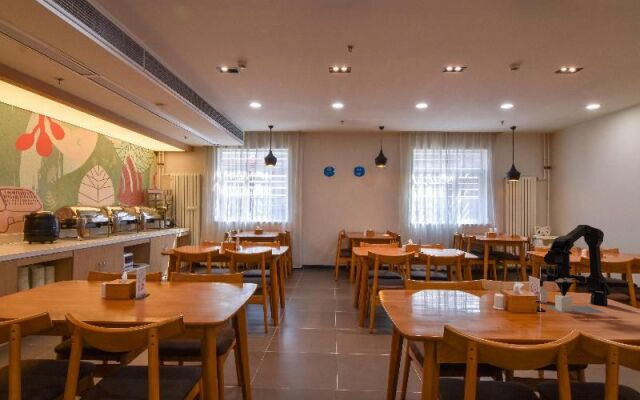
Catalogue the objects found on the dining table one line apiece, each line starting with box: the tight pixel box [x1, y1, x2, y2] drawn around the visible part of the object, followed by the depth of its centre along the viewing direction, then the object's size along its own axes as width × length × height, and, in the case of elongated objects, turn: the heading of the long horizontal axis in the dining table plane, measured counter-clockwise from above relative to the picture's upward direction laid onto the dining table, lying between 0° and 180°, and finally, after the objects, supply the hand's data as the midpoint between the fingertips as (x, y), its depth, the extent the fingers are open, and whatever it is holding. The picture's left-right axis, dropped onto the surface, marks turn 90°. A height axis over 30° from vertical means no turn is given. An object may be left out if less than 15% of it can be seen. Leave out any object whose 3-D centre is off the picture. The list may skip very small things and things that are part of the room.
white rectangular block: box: [554, 294, 573, 311], centre depth 197 cm, size 5×5×7 cm
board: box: [544, 305, 606, 314], centre depth 198 cm, size 22×14×1 cm, turn 89°
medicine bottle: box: [538, 278, 548, 303], centre depth 218 cm, size 7×7×12 cm
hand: (563, 295), depth 197 cm, fingers closed
